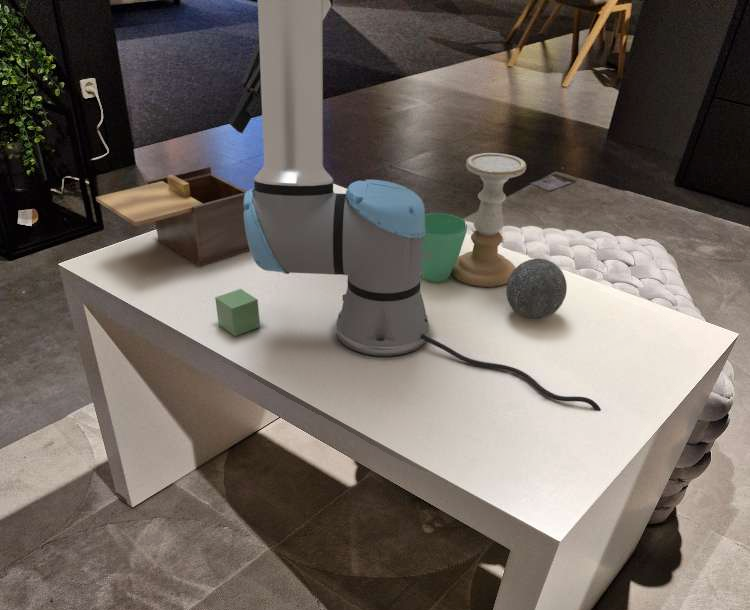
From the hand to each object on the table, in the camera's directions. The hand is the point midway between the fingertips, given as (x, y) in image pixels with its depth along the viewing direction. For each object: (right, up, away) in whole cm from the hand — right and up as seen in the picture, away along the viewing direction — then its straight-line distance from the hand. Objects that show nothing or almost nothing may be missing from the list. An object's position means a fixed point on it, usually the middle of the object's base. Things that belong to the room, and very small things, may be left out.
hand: (235, 127), depth 139 cm
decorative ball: (+54, -38, -11) cm, 67 cm away
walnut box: (-7, -19, +9) cm, 22 cm away
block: (+4, -41, -15) cm, 44 cm away
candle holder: (+47, -27, +2) cm, 54 cm away
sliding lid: (-15, -16, -3) cm, 22 cm away
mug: (+36, -27, +1) cm, 45 cm away
